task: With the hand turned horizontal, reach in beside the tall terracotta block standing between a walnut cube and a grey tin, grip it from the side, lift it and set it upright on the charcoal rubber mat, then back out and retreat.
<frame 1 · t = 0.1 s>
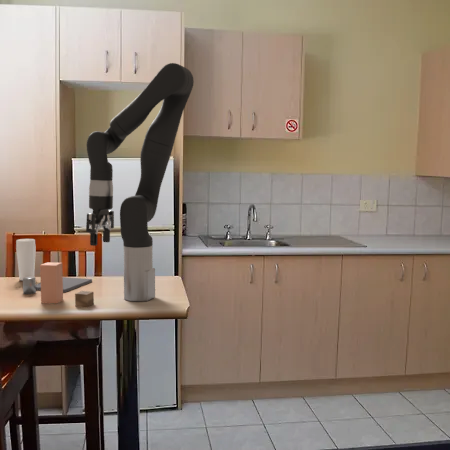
hand: (100, 243, 179), 17 cm above the table, tool pointing down, fingers open, 8 cm apart
drinking glass: (26, 280, 205), on the table
walnut cube: (84, 305, 168), on the table
charcoal mat: (61, 285, 195), on the table
grey tin: (29, 292, 184), on the table
terracotta block: (52, 301, 172), on the table
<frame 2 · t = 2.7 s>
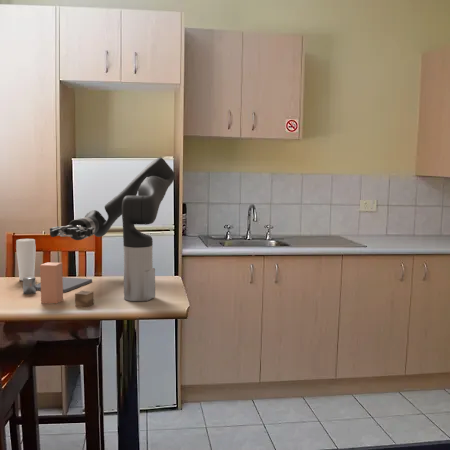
hand: (64, 234, 181), 20 cm above the table, tool horizontal, fingers open, 8 cm apart
nothing on the table moved.
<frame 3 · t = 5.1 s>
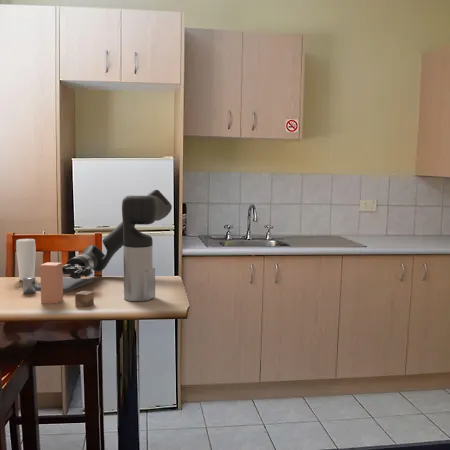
hand: (62, 275, 180), 7 cm above the table, tool horizontal, fingers open, 8 cm apart
nothing on the table moved.
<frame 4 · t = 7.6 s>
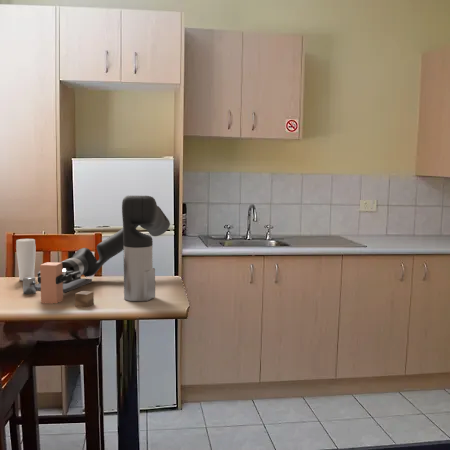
hand: (48, 280, 169), 7 cm above the table, tool horizontal, fingers closed on terracotta block, 5 cm apart
terracotta block: (52, 301, 172), on the table, touching gripper
everything else where it was.
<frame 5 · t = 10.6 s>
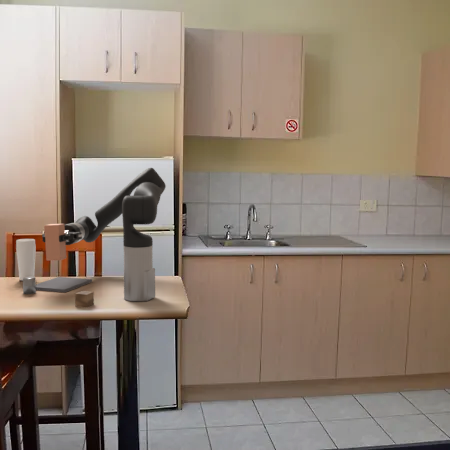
hand: (52, 239, 185), 18 cm above the table, tool horizontal, fingers closed on terracotta block, 5 cm apart
terracotta block: (56, 259, 188), point 11 cm above the table, touching gripper
everything else where it was.
when the fingers open (9 cm above the table, at t = 13.6 s): terracotta block drops 1 cm, resting on charcoal mat.
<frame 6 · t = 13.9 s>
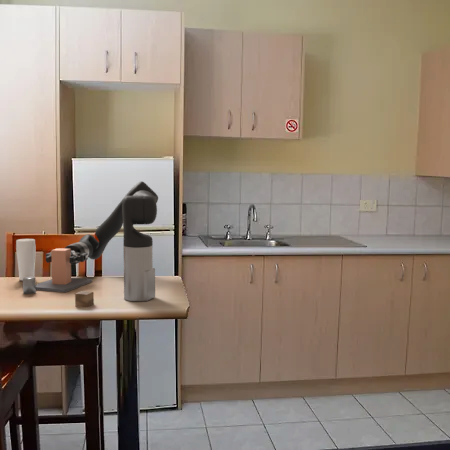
hand: (58, 260, 192), 10 cm above the table, tool horizontal, fingers open, 8 cm apart
terracotta block: (61, 282, 195), point 1 cm above the table, touching charcoal mat
everything else where it was.
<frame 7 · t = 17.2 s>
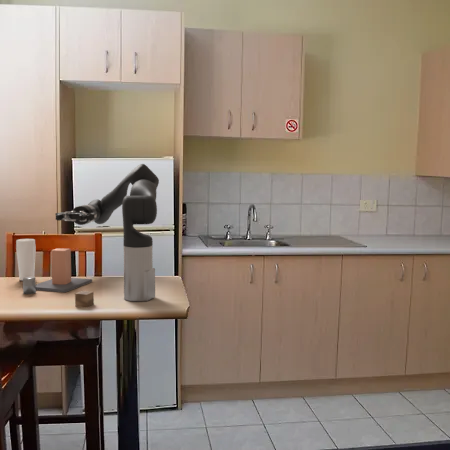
hand: (68, 217, 200), 24 cm above the table, tool horizontal, fingers open, 8 cm apart
nothing on the table moved.
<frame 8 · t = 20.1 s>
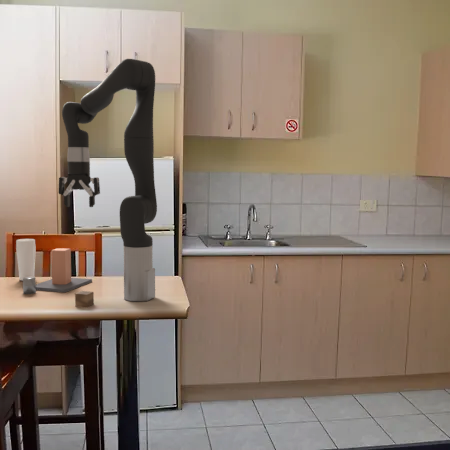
hand: (79, 206, 193), 28 cm above the table, tool pointing down, fingers open, 8 cm apart
nothing on the table moved.
at the end: terracotta block inside the target area on the charcoal mat (0.1 cm from its centre), point 1.0 cm above the charcoal mat's base; terracotta block tilted 0°; the gripper is holding nothing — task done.
